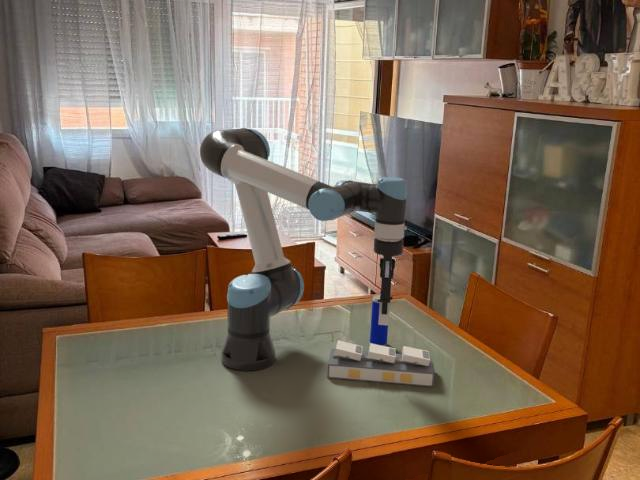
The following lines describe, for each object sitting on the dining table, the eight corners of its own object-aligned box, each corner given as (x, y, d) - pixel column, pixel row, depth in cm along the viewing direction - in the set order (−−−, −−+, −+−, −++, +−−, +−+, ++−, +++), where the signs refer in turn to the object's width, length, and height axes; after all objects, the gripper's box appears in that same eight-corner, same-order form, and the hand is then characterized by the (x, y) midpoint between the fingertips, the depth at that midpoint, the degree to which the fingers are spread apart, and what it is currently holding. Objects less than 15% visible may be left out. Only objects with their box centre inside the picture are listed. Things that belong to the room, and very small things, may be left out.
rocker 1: (334, 356, 165) (336, 348, 164) (336, 347, 170) (338, 339, 169) (359, 362, 164) (361, 354, 164) (360, 353, 170) (362, 345, 169)
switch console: (326, 378, 164) (327, 362, 162) (330, 361, 174) (331, 346, 173) (433, 387, 161) (435, 371, 160) (431, 369, 171) (432, 354, 170)
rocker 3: (401, 362, 163) (403, 353, 162) (401, 353, 168) (403, 345, 168) (428, 367, 162) (430, 359, 162) (426, 358, 168) (428, 350, 167)
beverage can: (386, 341, 189) (389, 294, 185) (386, 347, 184) (390, 300, 180) (369, 339, 189) (372, 293, 186) (369, 346, 185) (372, 299, 181)
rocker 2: (367, 359, 164) (369, 351, 163) (368, 350, 169) (370, 342, 169) (393, 365, 163) (395, 356, 163) (393, 356, 169) (395, 348, 168)
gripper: (404, 245, 151) (397, 334, 157) (403, 233, 164) (397, 316, 170) (373, 243, 152) (368, 332, 158) (375, 231, 165) (370, 314, 170)
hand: (383, 323), depth 164 cm, fingers closed
